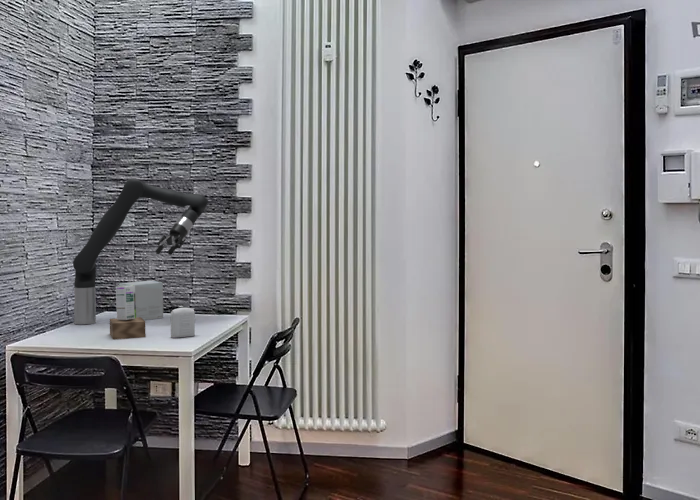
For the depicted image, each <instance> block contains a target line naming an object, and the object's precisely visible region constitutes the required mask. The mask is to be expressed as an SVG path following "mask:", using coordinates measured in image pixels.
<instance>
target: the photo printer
mask: <svg viewBox="0 0 700 500" xmlns="http://www.w3.org/2000/svg"><path fill="white" fill-rule="evenodd" d="M195 314H196V313H195V310H194V308H192V307H191V308H190V307H178V308H174V309H172V310H171V312H170V338H172V339H175V338H177V339H178V338H187V337H188V338H189V337H195V331H196V330H195V326H196V325H195V323H196V321H195V320H196V319H195V317H196V315H195Z"/></svg>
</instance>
